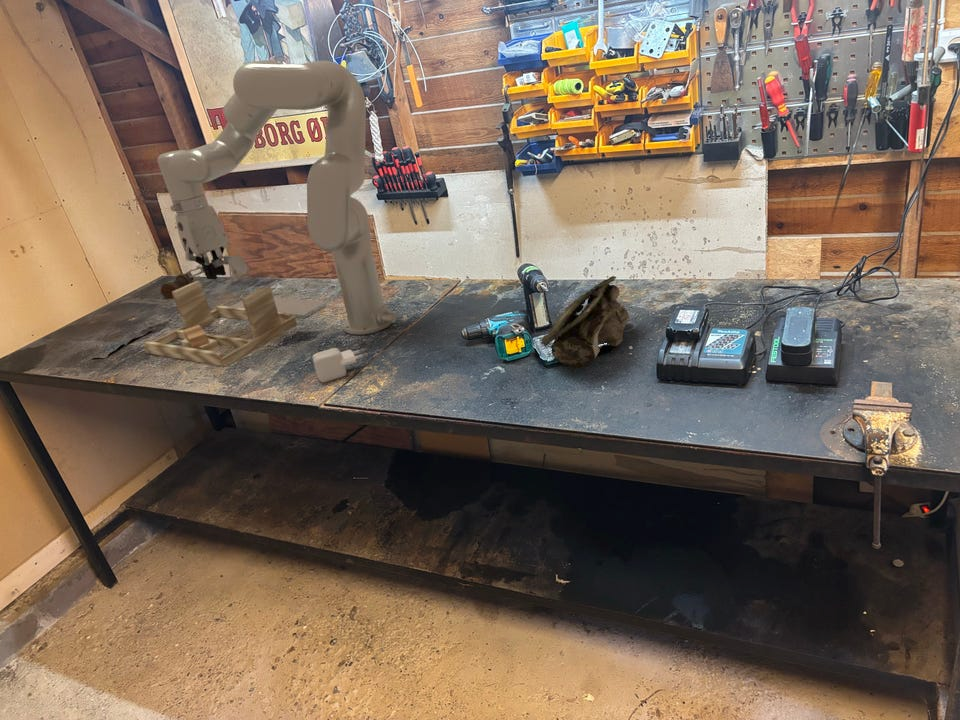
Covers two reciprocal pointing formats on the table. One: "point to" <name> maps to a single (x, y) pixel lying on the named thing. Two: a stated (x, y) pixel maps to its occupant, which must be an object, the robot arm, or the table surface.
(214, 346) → the offcut bottom
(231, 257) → the bracket
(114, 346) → the driftwood
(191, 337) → the offcut top
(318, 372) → the power adapter
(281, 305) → the plate
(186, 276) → the brown lumpy piece
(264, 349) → the table surface
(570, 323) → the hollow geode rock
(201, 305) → the rack
